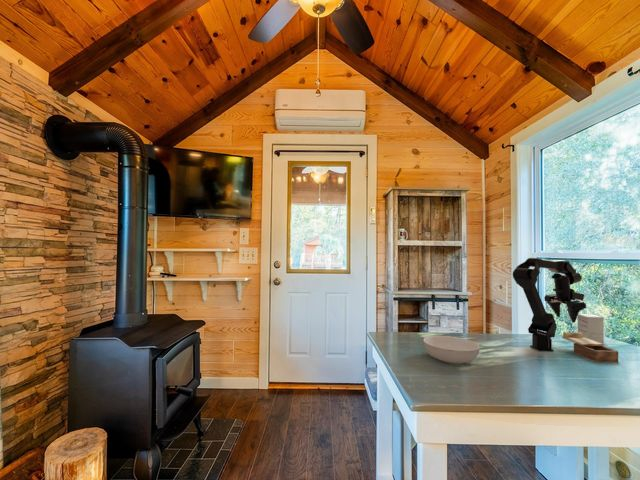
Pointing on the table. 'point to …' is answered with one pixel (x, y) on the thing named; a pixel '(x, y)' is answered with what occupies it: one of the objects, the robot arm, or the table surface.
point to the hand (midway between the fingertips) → (566, 319)
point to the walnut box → (596, 353)
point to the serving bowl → (451, 349)
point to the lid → (580, 339)
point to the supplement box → (591, 327)
